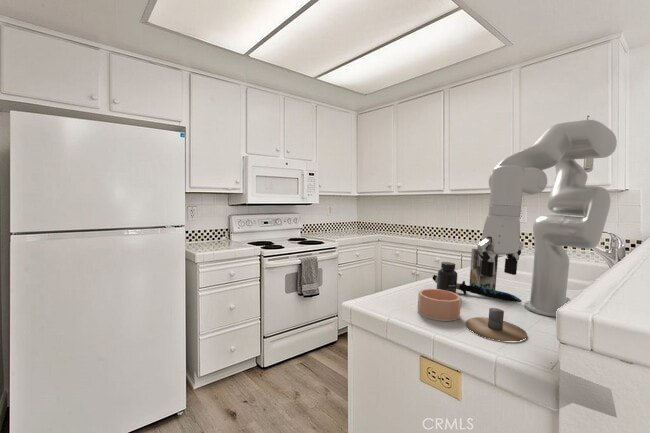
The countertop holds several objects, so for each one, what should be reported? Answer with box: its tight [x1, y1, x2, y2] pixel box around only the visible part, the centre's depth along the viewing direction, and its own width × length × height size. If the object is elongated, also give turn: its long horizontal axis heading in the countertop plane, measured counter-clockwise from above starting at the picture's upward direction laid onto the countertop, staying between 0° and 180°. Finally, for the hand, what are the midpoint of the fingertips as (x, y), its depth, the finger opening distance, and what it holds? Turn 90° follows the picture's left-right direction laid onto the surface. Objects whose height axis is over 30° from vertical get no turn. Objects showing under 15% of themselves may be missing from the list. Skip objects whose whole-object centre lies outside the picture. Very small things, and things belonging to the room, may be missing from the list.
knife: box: [431, 274, 522, 303], centre depth 121 cm, size 31×3×4 cm, turn 60°
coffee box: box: [468, 248, 499, 290], centre depth 127 cm, size 9×6×16 cm
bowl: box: [417, 288, 462, 322], centre depth 101 cm, size 12×12×6 cm
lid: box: [465, 307, 528, 342], centre depth 90 cm, size 15×15×6 cm
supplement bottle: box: [436, 261, 458, 294], centre depth 120 cm, size 7×7×12 cm
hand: (498, 274), depth 89 cm, fingers open, 9 cm apart
